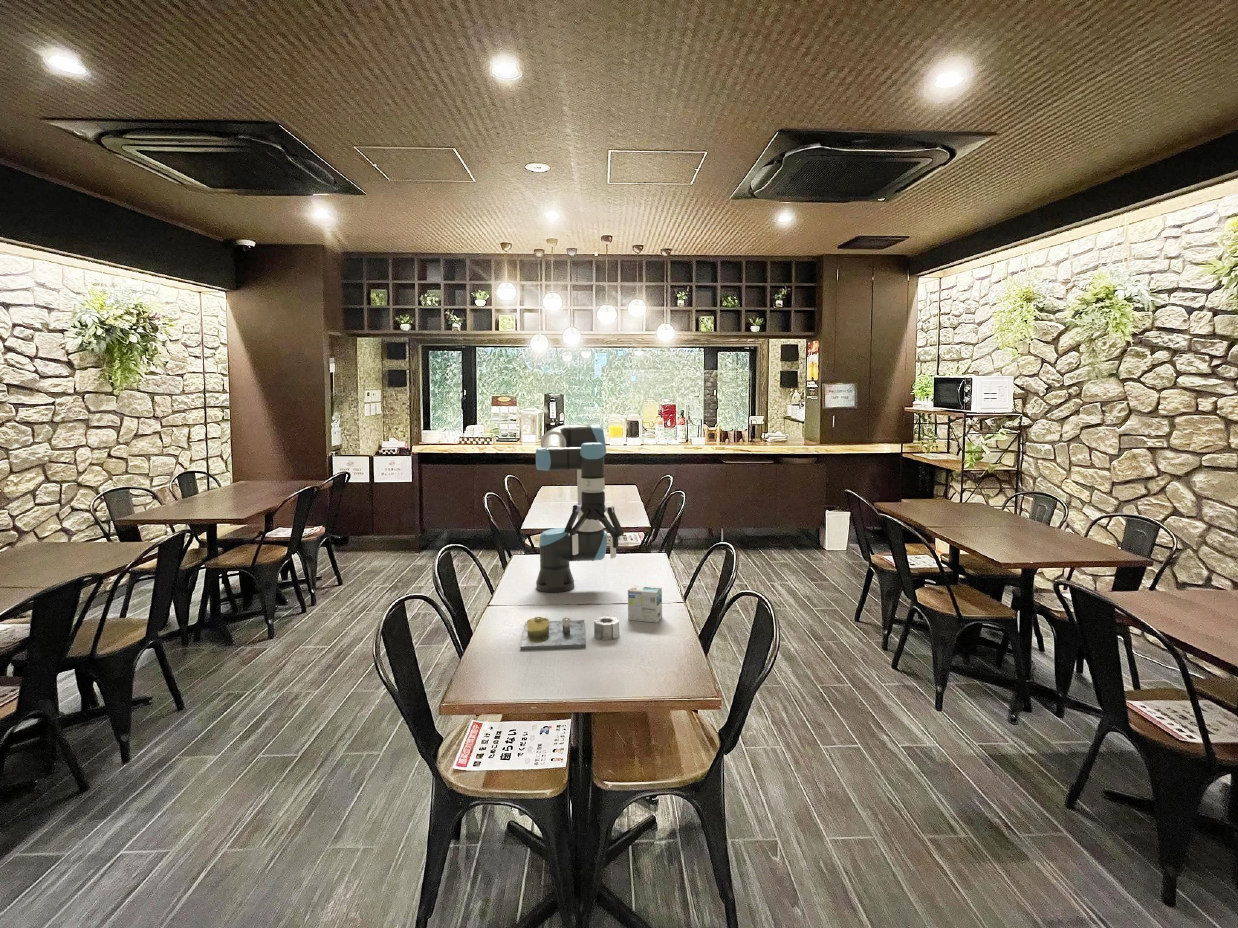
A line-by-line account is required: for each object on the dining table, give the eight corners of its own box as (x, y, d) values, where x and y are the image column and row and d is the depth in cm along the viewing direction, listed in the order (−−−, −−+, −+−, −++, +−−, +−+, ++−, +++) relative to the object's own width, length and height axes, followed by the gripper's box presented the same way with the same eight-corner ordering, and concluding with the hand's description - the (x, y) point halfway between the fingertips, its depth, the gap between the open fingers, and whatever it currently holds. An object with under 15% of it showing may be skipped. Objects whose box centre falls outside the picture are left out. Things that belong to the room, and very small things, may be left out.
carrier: (525, 625, 237) (524, 607, 236) (584, 623, 238) (584, 605, 237) (520, 650, 215) (519, 630, 214) (585, 647, 216) (585, 628, 216)
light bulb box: (662, 616, 244) (662, 586, 242) (657, 623, 237) (657, 592, 236) (633, 613, 247) (633, 584, 246) (627, 620, 241) (627, 589, 240)
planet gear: (594, 631, 230) (593, 616, 230) (618, 630, 231) (618, 615, 230) (594, 640, 222) (594, 625, 222) (619, 639, 223) (619, 624, 222)
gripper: (553, 490, 227) (554, 555, 229) (623, 494, 217) (624, 561, 219) (564, 487, 234) (565, 550, 236) (633, 491, 223) (634, 556, 225)
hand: (594, 555), depth 227 cm, fingers open, 13 cm apart
